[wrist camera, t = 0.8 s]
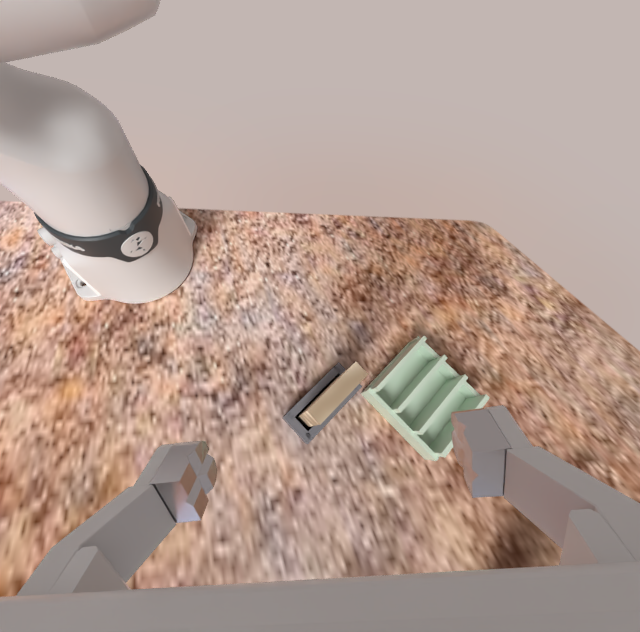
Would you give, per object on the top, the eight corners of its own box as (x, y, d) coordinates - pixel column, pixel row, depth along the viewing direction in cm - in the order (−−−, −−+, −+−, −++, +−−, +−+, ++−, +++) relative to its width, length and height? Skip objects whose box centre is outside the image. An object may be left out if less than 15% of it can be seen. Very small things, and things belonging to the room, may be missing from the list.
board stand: (282, 418, 43) (283, 416, 41) (334, 366, 47) (338, 362, 44) (305, 443, 43) (307, 443, 40) (356, 389, 46) (362, 386, 43)
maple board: (297, 417, 44) (307, 410, 32) (333, 380, 46) (355, 361, 34) (306, 427, 43) (320, 424, 31) (342, 390, 46) (368, 374, 34)
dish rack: (360, 393, 46) (371, 388, 41) (408, 342, 50) (424, 331, 44) (424, 459, 44) (444, 462, 39) (469, 400, 48) (493, 396, 43)
